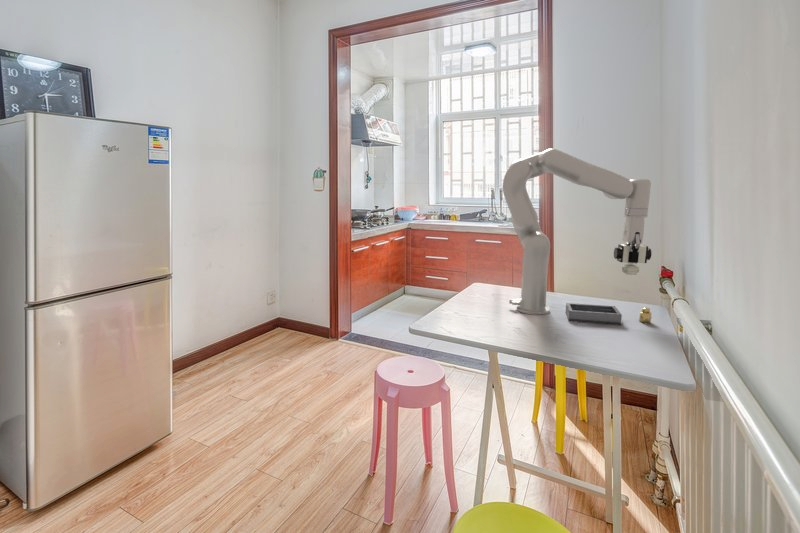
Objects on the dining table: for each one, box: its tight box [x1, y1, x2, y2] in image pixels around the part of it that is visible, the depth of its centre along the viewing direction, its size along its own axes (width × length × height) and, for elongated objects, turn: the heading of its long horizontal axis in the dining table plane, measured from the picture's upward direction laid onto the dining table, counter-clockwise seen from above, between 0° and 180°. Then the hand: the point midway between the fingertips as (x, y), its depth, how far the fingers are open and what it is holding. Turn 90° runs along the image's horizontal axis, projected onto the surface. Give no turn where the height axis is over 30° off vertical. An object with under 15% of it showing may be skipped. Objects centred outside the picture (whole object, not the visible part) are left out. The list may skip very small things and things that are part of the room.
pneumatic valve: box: [613, 242, 652, 276], centre depth 158 cm, size 6×12×12 cm, turn 79°
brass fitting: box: [638, 307, 652, 324], centre depth 152 cm, size 4×4×5 cm
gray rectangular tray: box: [565, 302, 623, 326], centre depth 157 cm, size 17×13×4 cm
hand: (630, 260), depth 158 cm, fingers closed on pneumatic valve, 5 cm apart
